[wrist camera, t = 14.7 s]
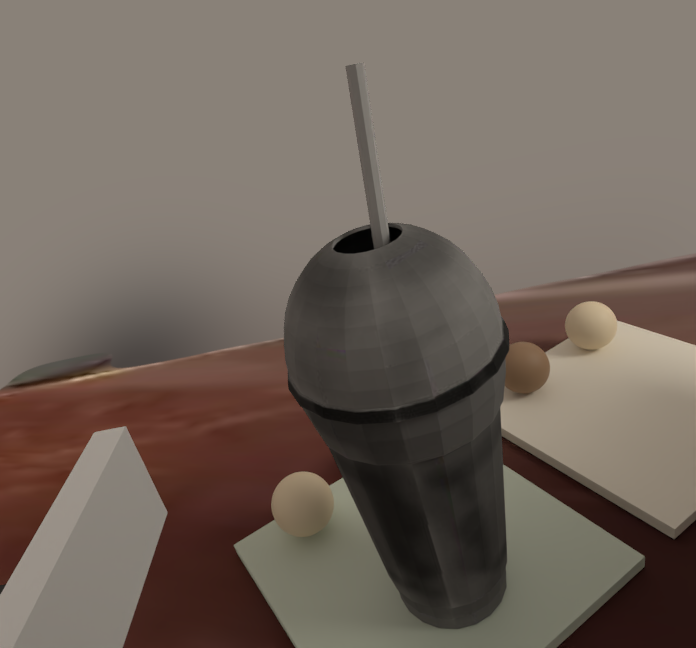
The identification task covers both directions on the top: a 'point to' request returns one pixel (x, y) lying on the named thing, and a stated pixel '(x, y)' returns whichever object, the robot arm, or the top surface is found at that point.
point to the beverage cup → (408, 396)
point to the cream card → (610, 413)
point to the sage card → (384, 599)
